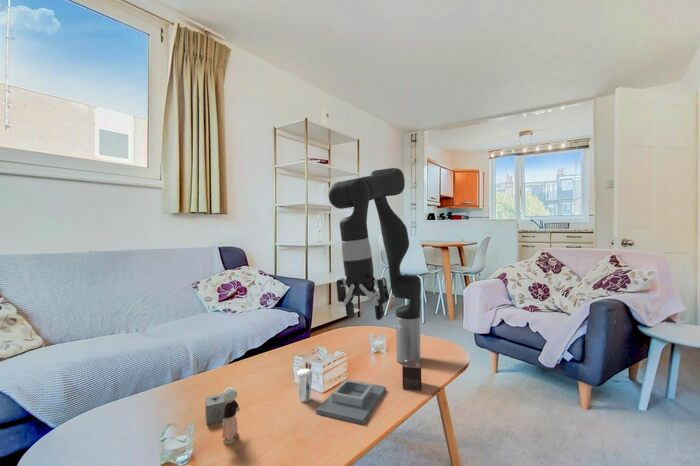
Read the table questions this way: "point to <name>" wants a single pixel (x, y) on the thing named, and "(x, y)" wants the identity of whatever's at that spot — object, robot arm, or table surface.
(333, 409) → the dock
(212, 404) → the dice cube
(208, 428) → the table surface
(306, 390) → the milkshake
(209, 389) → the table surface
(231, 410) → the grandmother figurine
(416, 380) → the box
